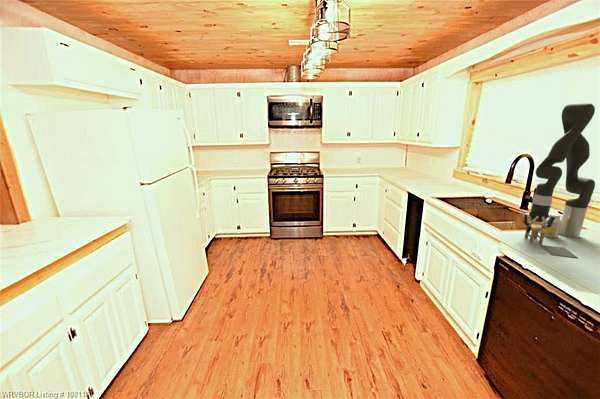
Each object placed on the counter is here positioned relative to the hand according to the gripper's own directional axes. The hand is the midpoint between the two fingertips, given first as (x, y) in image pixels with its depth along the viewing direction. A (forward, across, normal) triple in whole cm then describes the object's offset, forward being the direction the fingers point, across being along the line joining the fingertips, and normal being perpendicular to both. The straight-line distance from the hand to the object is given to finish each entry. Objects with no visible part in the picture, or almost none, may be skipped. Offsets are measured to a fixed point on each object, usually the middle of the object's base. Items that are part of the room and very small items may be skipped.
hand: (534, 232), depth 158 cm
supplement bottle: (+5, -12, -11) cm, 17 cm away
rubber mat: (+4, -6, +13) cm, 15 cm away
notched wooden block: (+4, 0, 0) cm, 4 cm away
